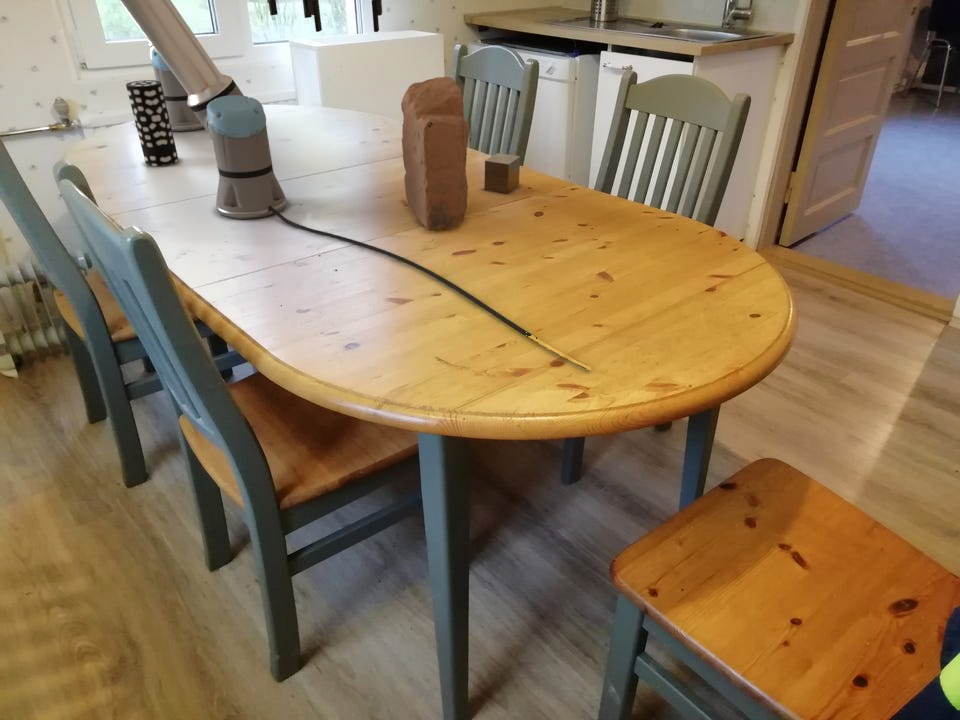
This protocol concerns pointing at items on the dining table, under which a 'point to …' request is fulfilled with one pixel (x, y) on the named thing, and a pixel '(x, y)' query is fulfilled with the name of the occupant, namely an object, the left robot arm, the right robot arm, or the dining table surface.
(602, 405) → the dining table surface
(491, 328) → the dining table surface
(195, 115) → the left robot arm
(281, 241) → the dining table surface
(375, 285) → the dining table surface
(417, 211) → the stone
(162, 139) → the black white spotted cylinder
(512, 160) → the metallic grey cube
